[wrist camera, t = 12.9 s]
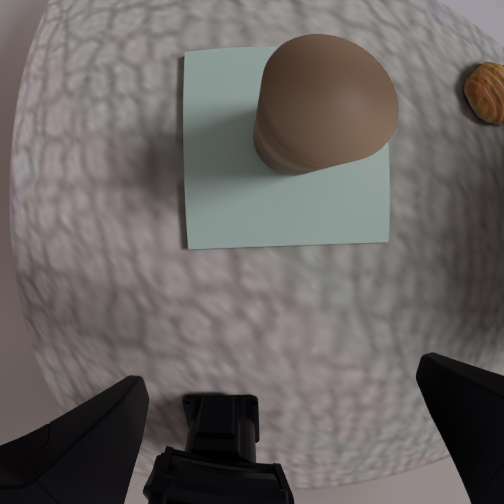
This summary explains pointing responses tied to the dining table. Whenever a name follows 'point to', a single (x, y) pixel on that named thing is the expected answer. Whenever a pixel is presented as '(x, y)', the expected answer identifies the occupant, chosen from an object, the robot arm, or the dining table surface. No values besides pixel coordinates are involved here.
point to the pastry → (487, 92)
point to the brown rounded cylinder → (322, 105)
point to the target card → (264, 169)
